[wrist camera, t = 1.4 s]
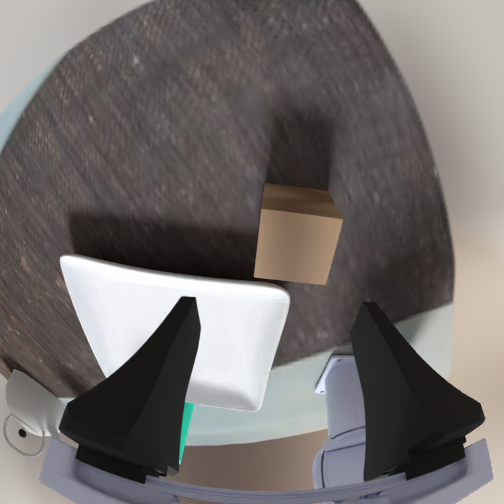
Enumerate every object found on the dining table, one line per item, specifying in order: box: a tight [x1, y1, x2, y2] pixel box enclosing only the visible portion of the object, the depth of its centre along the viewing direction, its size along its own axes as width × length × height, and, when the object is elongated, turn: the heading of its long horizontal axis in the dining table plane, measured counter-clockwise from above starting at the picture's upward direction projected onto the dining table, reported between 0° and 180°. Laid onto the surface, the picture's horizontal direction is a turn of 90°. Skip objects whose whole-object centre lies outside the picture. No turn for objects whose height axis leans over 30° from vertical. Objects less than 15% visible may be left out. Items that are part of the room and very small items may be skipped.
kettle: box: [3, 369, 66, 457], centre depth 43 cm, size 25×23×22 cm
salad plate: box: [60, 254, 290, 411], centre depth 27 cm, size 21×21×3 cm
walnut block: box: [254, 183, 343, 285], centre depth 18 cm, size 4×4×5 cm
